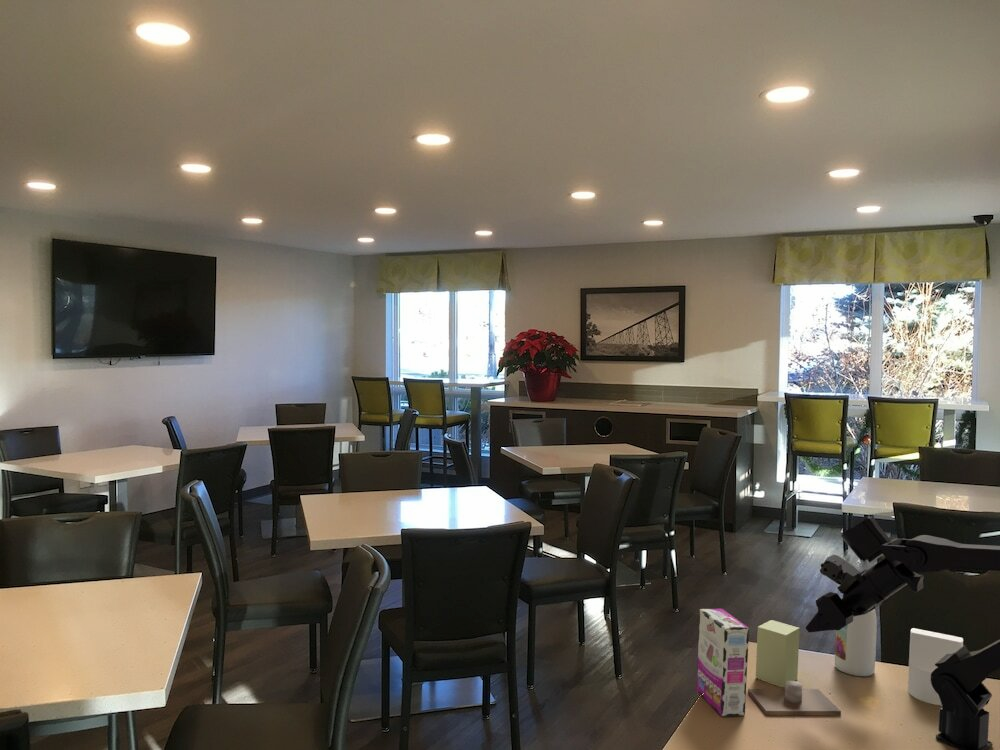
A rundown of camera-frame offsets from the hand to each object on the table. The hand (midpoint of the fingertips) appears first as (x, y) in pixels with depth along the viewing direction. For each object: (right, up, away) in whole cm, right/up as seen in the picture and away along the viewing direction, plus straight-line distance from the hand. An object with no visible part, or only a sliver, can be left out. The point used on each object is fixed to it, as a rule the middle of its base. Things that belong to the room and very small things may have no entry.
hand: (817, 624), depth 152 cm
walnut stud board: (-7, -13, -5) cm, 16 cm away
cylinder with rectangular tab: (+23, -14, 0) cm, 27 cm away
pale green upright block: (-6, -13, +6) cm, 16 cm away
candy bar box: (-21, -13, -5) cm, 25 cm away
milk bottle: (+13, -13, +12) cm, 22 cm away
